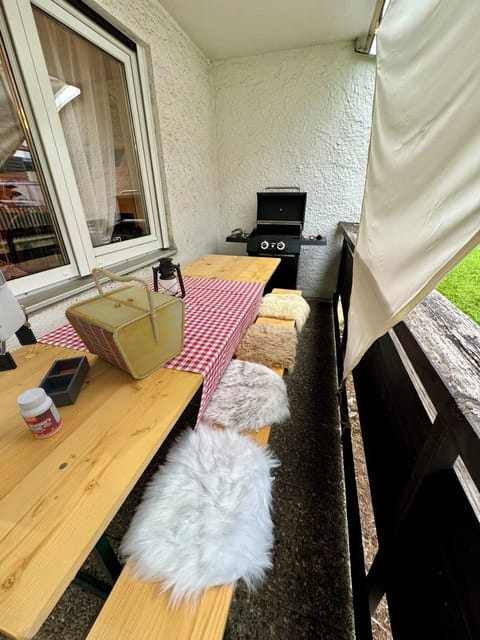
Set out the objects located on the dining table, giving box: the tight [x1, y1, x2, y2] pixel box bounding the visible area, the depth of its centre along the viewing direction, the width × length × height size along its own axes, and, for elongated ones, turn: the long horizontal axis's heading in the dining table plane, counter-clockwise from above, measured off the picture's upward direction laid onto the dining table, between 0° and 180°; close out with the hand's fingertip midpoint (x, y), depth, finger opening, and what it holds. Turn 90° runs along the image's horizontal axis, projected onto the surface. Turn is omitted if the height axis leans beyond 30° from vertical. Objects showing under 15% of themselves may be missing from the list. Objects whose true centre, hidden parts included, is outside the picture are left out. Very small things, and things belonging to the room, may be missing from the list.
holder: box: [37, 354, 91, 409], centre depth 77 cm, size 9×17×5 cm, turn 14°
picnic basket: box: [64, 267, 186, 380], centre depth 84 cm, size 29×26×30 cm
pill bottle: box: [16, 387, 64, 440], centre depth 62 cm, size 6×6×11 cm
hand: (20, 356), depth 57 cm, fingers open, 9 cm apart
